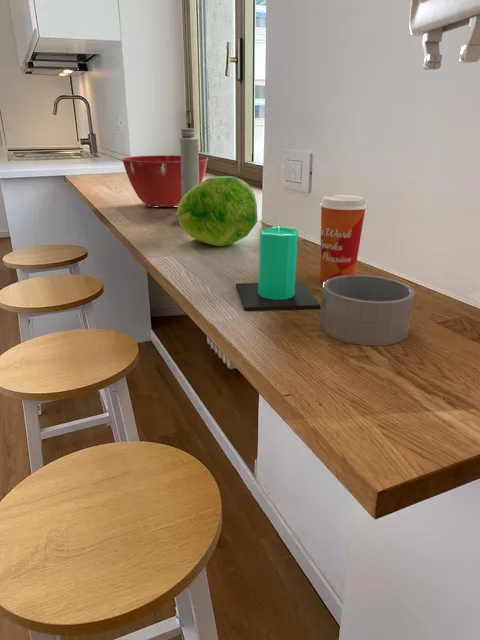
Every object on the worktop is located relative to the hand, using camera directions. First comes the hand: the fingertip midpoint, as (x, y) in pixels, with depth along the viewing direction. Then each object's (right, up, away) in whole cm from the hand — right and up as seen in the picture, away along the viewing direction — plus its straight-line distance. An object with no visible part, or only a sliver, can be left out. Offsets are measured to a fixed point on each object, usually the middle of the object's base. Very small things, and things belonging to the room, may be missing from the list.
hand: (449, 66), depth 64 cm
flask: (-41, -5, +78) cm, 89 cm away
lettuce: (-33, -15, +52) cm, 63 cm away
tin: (-10, -34, +6) cm, 36 cm away
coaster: (-21, -29, +18) cm, 40 cm away
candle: (-21, -29, +18) cm, 40 cm away
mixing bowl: (-52, +6, +104) cm, 116 cm away
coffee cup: (-9, -26, +27) cm, 39 cm away
